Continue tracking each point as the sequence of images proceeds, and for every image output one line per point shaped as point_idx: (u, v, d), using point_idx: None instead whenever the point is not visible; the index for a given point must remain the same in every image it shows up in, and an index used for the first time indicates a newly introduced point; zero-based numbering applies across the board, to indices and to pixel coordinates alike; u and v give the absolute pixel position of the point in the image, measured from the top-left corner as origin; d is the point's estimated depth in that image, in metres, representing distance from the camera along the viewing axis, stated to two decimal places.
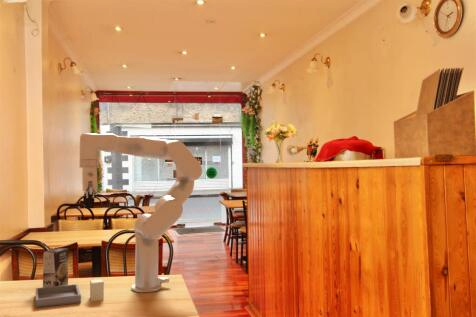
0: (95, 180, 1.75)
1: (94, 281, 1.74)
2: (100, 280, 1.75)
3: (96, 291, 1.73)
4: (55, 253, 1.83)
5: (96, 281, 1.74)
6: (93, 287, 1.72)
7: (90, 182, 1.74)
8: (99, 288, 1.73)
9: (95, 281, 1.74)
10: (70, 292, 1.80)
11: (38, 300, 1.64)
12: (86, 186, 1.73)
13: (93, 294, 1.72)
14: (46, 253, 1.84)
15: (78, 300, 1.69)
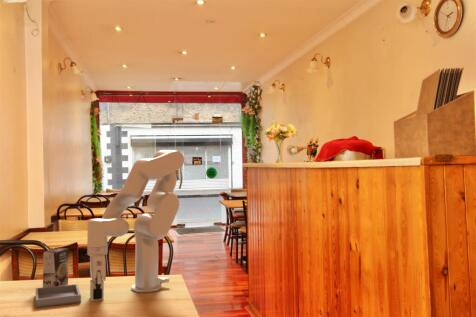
0: (104, 269, 1.71)
1: None
2: None
3: None
4: (55, 253, 1.83)
5: None
6: (93, 287, 1.72)
7: (98, 273, 1.70)
8: None
9: None
10: (70, 292, 1.80)
11: (38, 300, 1.64)
12: (94, 279, 1.70)
13: None
14: (46, 253, 1.84)
15: (78, 300, 1.69)
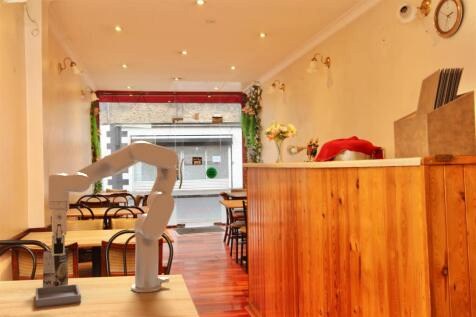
0: (64, 223, 1.70)
1: None
2: None
3: None
4: None
5: None
6: (54, 242, 1.71)
7: (59, 227, 1.69)
8: None
9: None
10: (70, 292, 1.80)
11: (38, 300, 1.64)
12: (55, 233, 1.69)
13: None
14: (46, 253, 1.84)
15: (78, 300, 1.69)
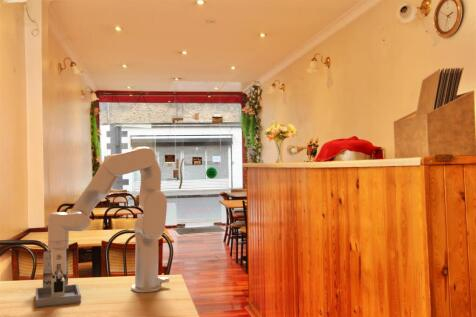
0: (64, 262, 1.70)
1: None
2: None
3: None
4: None
5: None
6: None
7: (58, 265, 1.69)
8: None
9: None
10: (70, 292, 1.80)
11: (38, 300, 1.64)
12: (54, 270, 1.68)
13: (53, 293, 1.71)
14: (46, 253, 1.84)
15: (78, 300, 1.69)
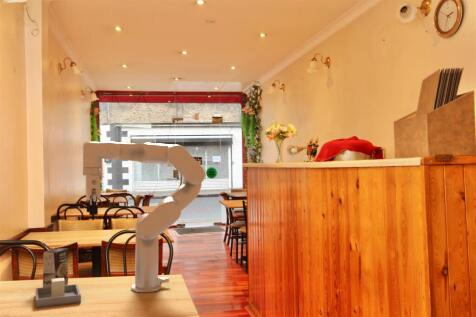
0: (98, 187, 1.80)
1: (55, 280, 1.73)
2: (61, 279, 1.74)
3: (57, 290, 1.71)
4: (55, 253, 1.83)
5: (57, 280, 1.72)
6: (54, 286, 1.71)
7: (94, 189, 1.78)
8: (59, 287, 1.72)
9: (56, 279, 1.73)
10: (70, 292, 1.80)
11: (38, 300, 1.64)
12: (90, 193, 1.78)
13: (53, 293, 1.71)
14: (46, 253, 1.84)
15: (78, 300, 1.69)
